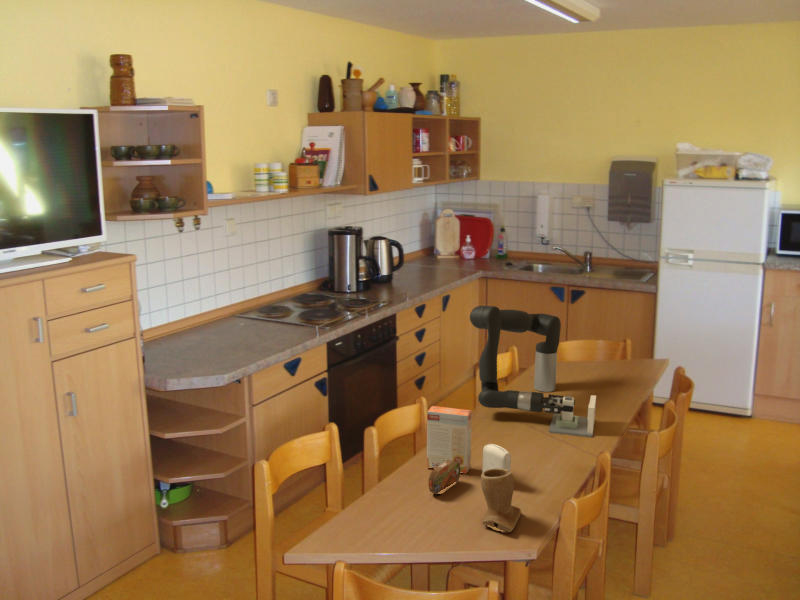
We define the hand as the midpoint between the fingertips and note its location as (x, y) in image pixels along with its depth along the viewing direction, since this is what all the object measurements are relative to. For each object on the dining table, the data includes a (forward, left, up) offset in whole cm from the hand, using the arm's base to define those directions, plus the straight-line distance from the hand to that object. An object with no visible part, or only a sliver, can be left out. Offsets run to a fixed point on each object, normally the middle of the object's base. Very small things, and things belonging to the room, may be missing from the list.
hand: (573, 405), depth 297 cm
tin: (+65, -35, -9) cm, 74 cm away
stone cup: (+80, -15, -9) cm, 82 cm away
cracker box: (+50, -37, -9) cm, 63 cm away
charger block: (0, -2, -8) cm, 8 cm away
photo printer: (+55, -20, -9) cm, 59 cm away
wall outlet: (0, 0, -8) cm, 8 cm away
